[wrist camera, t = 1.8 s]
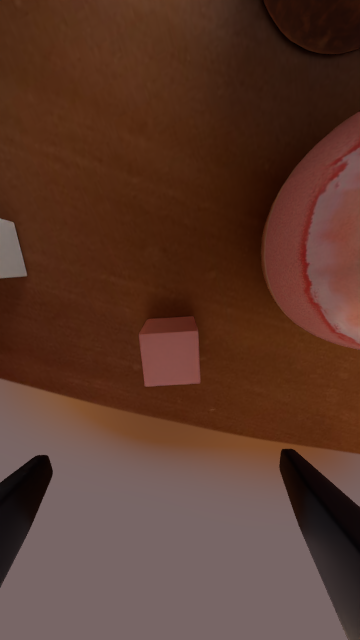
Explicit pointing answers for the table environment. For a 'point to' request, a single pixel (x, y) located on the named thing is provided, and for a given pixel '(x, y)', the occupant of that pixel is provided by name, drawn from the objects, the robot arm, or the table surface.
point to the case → (318, 23)
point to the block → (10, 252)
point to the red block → (170, 351)
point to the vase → (319, 239)
